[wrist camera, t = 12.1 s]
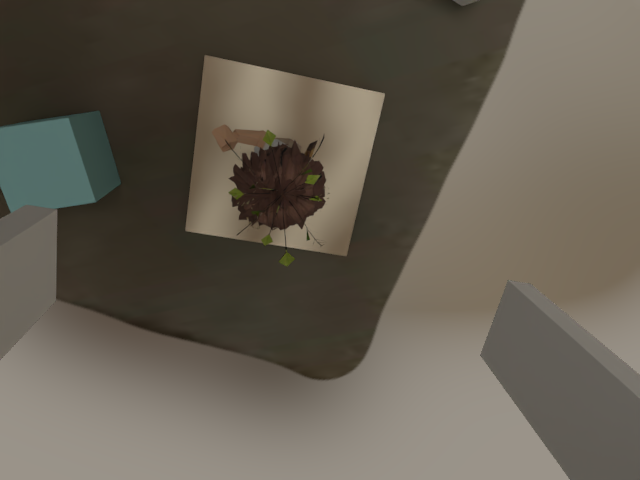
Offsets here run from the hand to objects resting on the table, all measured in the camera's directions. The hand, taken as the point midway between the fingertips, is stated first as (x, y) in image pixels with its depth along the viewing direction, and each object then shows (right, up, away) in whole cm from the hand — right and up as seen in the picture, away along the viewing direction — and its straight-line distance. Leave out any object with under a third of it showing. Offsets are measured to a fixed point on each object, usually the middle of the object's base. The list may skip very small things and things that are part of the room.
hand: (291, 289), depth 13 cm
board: (-2, +7, +19) cm, 21 cm away
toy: (-2, +7, +19) cm, 20 cm away
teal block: (-16, +7, +18) cm, 25 cm away
